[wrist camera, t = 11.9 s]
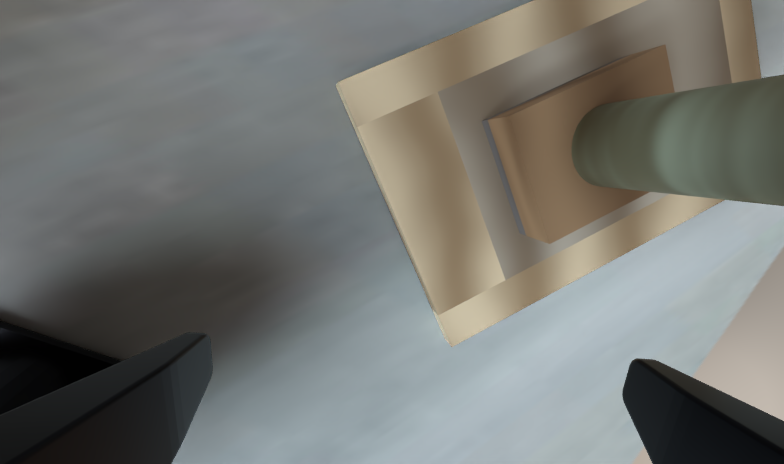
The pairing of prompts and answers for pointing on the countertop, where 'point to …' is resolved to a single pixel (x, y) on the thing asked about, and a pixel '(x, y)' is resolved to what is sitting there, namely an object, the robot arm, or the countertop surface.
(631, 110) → the grey-green cylinder
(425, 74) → the wooden frame
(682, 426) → the robot arm
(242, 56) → the countertop surface
